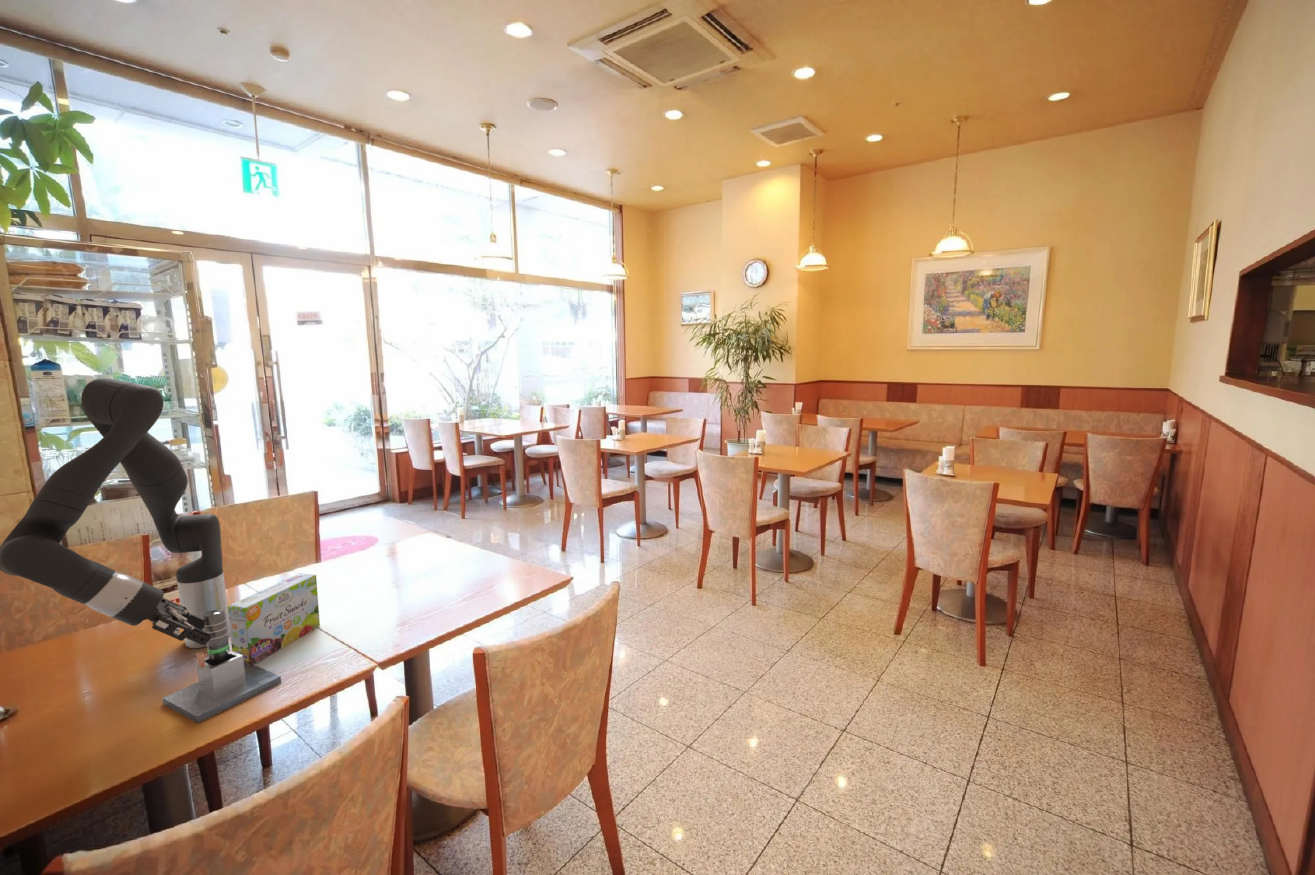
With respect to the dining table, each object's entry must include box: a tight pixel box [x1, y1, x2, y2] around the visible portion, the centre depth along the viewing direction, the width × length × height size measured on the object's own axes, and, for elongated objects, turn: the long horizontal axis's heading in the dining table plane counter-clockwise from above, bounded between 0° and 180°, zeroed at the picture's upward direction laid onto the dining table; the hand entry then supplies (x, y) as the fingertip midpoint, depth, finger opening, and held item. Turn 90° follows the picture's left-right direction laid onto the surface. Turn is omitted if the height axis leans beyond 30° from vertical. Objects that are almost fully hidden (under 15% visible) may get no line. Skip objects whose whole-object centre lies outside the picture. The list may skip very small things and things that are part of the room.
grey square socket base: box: [161, 649, 282, 724], centre depth 122 cm, size 14×16×11 cm
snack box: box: [227, 573, 321, 665], centre depth 143 cm, size 21×6×15 cm, turn 168°
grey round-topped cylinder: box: [203, 609, 231, 666], centre depth 122 cm, size 4×4×12 cm
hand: (206, 633), depth 120 cm, fingers open, 8 cm apart
